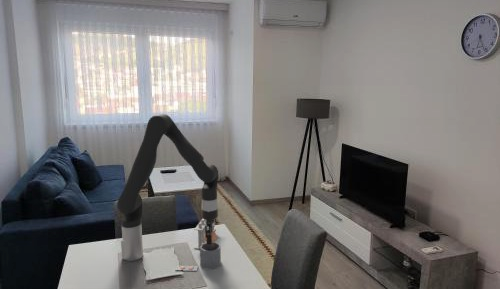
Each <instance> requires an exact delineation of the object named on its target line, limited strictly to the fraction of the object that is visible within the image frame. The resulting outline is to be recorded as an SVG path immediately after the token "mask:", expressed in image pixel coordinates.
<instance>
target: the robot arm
mask: <svg viewBox="0 0 500 289" xmlns="http://www.w3.org/2000/svg"><path fill="white" fill-rule="evenodd" d="M163 136H166V137H167V138H168V139H169V140H171V142H172V143H173V145H174V146H175V148H176V150H177V151H178V153H179V155H180V156H181V157H182V159H184V161H185V162H187V164H189V165H188V166H191V168H192V169H193V172H195V174H196V176H197V177H198V178H199V180H201V182H203V185H202V188H201V218H202V219H206V222H205V235H206V236H205V237H206V238H207V244H208V245H211V244H212V232H213V230H214V229H215V227H216V225H215V224H216V222H215V220H216V219H217V218H218V216H219V208H218V207H219V202H218V189H217V188H218V182H219V169H218V167H217V166H216V165H214V164H207V163H206V162H205V161H204V160H205V158H204V156H203V155H202V154H201V153H200V152H199V150H197V148H195V147H194V145H193V144H192V143H190V141H189V140H188V139H187V138H186V137H185V135H184V134H183V132H181V130H180V128H178V126H177V125H176V123H175V122H174V120H173V119H172V118H171V117H170V116H169V115H168V114H165V113H160V114H155V115H152V116H151V117H150V118H149V119H148V121H147V124H146V128H145V132H144V136H143V140H142V141H141V144H140V146H139V149H138V152H137V155H136V156H135V159H134V161H133V163H132V167H131V170H130V172H129V175H128V178H127V180H126V183H125V186H124V188H123V191H121V194H120V196H119V198H118V200H117V203H116V204H117V205H116V207H117V210H118V211H119V213H121V214H122V215H123V216H122V218H121V234H122V235H121V236H122V239H121V240H120V245H121V246H120V248H121V259H122V260H124V261H127V262H134V261H138V260H140V259H142V258H143V257H144V246H143V232H142V231H143V229H142V219H143V198H142V196H141V194H140V193H141V191H142V189H143V187H144V185H145V184H146V183H147V182H148V180H149V178H150V177H151V175H152V173H153V171H154V169H155V166H156V163H157V156H158V155H157V154H158V147H159V144H160V142H161V140H162V138H163ZM208 234H210V235H208ZM142 256H143V257H142Z"/></svg>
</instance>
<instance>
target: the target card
mask: <svg viewBox="0 0 500 289" xmlns="http://www.w3.org/2000/svg"><path fill="white" fill-rule="evenodd" d="M179 266H180V267H181V269H182V270H183V271H182V272H197V271H198V268H199V266H198V265H179Z"/></svg>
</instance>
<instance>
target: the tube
mask: <svg viewBox="0 0 500 289" xmlns="http://www.w3.org/2000/svg"><path fill="white" fill-rule="evenodd" d="M221 247H222V246H221V244H220V243H218V242H217V241H215V242H213V243H212V244H211V245H208V244H207V242H206V243H204V244H201V247H200V249H199V253H200V254H199V258H200V259H199V260H200V261H199V263H200V267H202V268H204V269H206V270H215V269H217V268H219V267H221V266H220V265H221V262H222V261H221V259H222V257H221V256H222V255H221V254H222V253H221V251H222V250H221V249H222V248H221Z"/></svg>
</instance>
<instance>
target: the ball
mask: <svg viewBox="0 0 500 289" xmlns="http://www.w3.org/2000/svg"><path fill="white" fill-rule="evenodd" d="M208 235H210V234H208ZM205 236H206V235H205V234H204V240H205V241H206V242H207V238H206V237H205ZM217 238H218V236H217V234H216V231H215V232H214V231H213V232H212V243H213V242H217Z"/></svg>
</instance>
